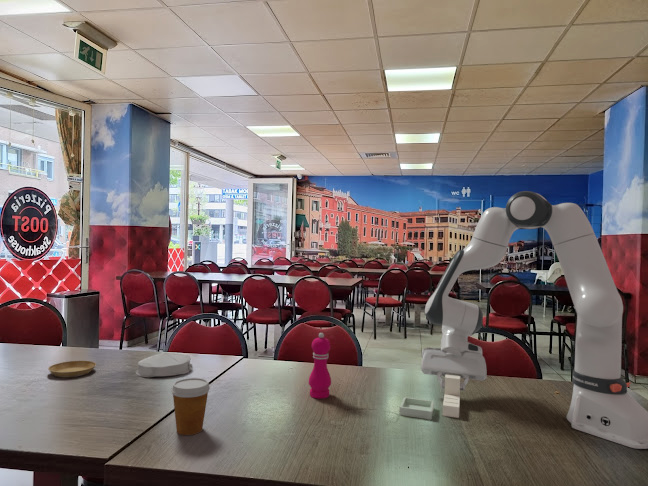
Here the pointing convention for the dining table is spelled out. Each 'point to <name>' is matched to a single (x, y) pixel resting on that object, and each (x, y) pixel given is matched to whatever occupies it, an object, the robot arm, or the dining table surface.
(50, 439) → the dining table surface
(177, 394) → the disposable coffee cup
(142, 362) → the food container
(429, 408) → the stub tray
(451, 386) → the stub
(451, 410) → the white grooved block
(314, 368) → the pepper mill
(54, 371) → the plant saucer
